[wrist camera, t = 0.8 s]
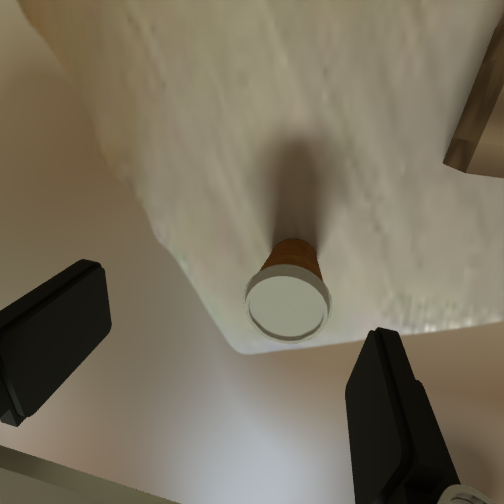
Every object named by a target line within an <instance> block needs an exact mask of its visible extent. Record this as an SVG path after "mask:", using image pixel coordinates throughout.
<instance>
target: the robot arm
mask: <svg viewBox="0 0 504 504" xmlns="http://www.w3.org/2000/svg"><path fill="white" fill-rule="evenodd" d="M111 325H112V323H111V315H110V307H109V300H108V292H107V284H106V276H105V270H104V268H102V267H101V264H100V263H98V262H94V261H90V260H86V259H81V260H79V261H77V262H76V263H74V264H73V265H71V266H69V267H68V268H66V269H65V270H63V271H62V272H60V273H59V274H57V275H55V276H54V277H52V278H51V279H49V280H48V281H46V282H45V283H43V284H41V285H40V286H38V287H37V288H35V289H34V290H32V291H30V292H29V293H27V294H26V295H24V296H23V297H21V298H20V299H18V300H16V301H15V302H13V303H12V304H10V305H9V306H7V307H5V308H4V309H3V310H1V311H0V420H1V422H3V423H6V424H9V425H12V426H15V427H18V426H19V425H20V424H21V422H23V420H24V419H25V418H26V417H30V416H31V415H33V414H34V413H35V412H37V410H38V409H39V408H40V407H41V406H42V405H43V404H44V403H45V402H46V401H47V400H48V399H49V397H50V396H51V395H52V394H53V393H54V392H55V391H56V390H57V389H58V388H59V387H60V386H61V384H62V383H63V382H64V381H65V380H66V379H67V378H68V377H69V376H70V375H71V373H72V372H73V371H74V370H75V369H76V368H77V367H78V366H79V365H80V364H81V363H82V362H83V361H84V360H85V359H86V357H87V356H88V355H89V354H90V353H91V352H92V351H93V350H94V349H95V348H96V347H97V346H98V344H99V343H100V342H101V341H102V340H103V339H104V338H105V337H106V336H107V335H108V333H109V332H110V329H111ZM345 400H346V410H347V420H348V431H349V441H350V452H351V461H352V473H353V483H354V493H355V504H495V503H494V502H492V501H491V500H490V499H489V498H487V497H486V496H485V495H483V494H482V493H480V492H479V491H476V490H475V489H473V488H470V487H468V486H464V485H461V483H460V481H459V478H458V476H457V473H456V470H455V468H454V465H453V463H452V460H451V457H450V455H449V452H448V449H447V447H446V444H445V441H444V439H443V436H442V434H441V431H440V428H439V426H438V423H437V421H436V418H435V415H434V413H433V410H432V407H431V405H430V402H429V400H428V397H427V394H426V392H425V389H424V387H423V385H422V383H421V382H420V381H419V380H415V377H414V374H413V372H412V369H411V366H410V363H409V361H408V358H407V355H406V352H405V349H404V347H403V344H402V341H401V338H400V336H399V333H398V332H397V331H393V330H389V329H385V328H380V327H378V328H377V329H376V330H375V331H373V330H370V331H369V333H368V336H367V338H366V340H365V343H364V345H363V347H362V350H361V352H360V354H359V357H358V359H357V362H356V364H355V366H354V368H353V371H352V373H351V376H350V378H349V380H348V383H347V385H346V390H345ZM0 504H180V503H177V502H174V501H170V500H167V499H165V498H161V497H158V496H155V495H152V494H149V493H146V492H143V491H140V490H137V489H134V488H131V487H128V486H125V485H122V484H119V483H116V482H112V481H109V480H106V479H103V478H100V477H97V476H94V475H91V474H88V473H85V472H81V471H78V470H75V469H72V468H69V467H66V466H63V465H60V464H57V463H54V462H51V461H47V460H44V459H41V458H38V457H35V456H32V455H29V454H26V453H22V452H19V451H16V450H13V449H10V448H7V447H4V446H1V445H0Z"/></svg>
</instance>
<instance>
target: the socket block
mask: <svg viewBox="0 0 504 504" xmlns="http://www.w3.org/2000/svg"><path fill="white" fill-rule="evenodd" d="M443 164H445V165H447V166H450V167H452V168H455V169H457V170H459V171H462V172H464V173H468V174H476V175H483V176H491V177H498V178H504V25H502V26H500V27H498V28H496V29H495V32H494V34H493V37H492V39H491V42H490V45H489V47H488V50H487V52H486V55H485V57H484V60H483V62H482V65H481V67H480V70H479V73H478V75H477V78H476V80H475V83H474V85H473V88H472V90H471V93H470V96H469V98H468V101H467V103H466V106H465V108H464V111H463V113H462V116H461V118H460V121H459V124H458V126H457V129H456V131H455V134H454V136H453V139H452V141H451V144H450V147H449V149H448V152H447V154H446V157H445V159H444V162H443Z"/></svg>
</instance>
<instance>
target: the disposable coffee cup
mask: <svg viewBox="0 0 504 504" xmlns="http://www.w3.org/2000/svg"><path fill="white" fill-rule="evenodd" d="M243 304H244V308H245V311H246V315H247V318H248V320H249V322H250V324H251V325H252V326H253V328H254V329H255V330H256V331H257V332H259V333H260V334H261V335H263V336H264V337H266V338H268V339H270V340H273V341H277V342H280V343H287V344H296V343H301V342H305V341H307V340H310V339H312V338H313V337H315V336H316V335H318V334H319V333H320V332H321V331H322V329H323V328H324V326H325V325H326V324H327V322H328V320H329V318H330V316H331V312H332V299H331V295H330V293H329V290H328V288H327V287H326V285H325V284H324V283H323V279H322V275H321V272H320V268H319V264H318V261H317V257H316V254H315V251H314V249H313V248H312V247H311V246H310V245H309V244H308V243H306V242H304V241H302V240H298V239H288V240H284V241H282V242H280V243H279V244H278V245H277V246H276V247H275V248H274V250H273V251H272V253H271V254H270V256H269V257H268V259H267V260H266V262H265V263H264V265H263V266H262V268H261V269H260V271H259V272H258V273H257V274H255V275H254V276H253V277H252V278H251V280H250V281H249V282H248V284H247V286H246V288H245V290H244V295H243Z"/></svg>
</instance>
